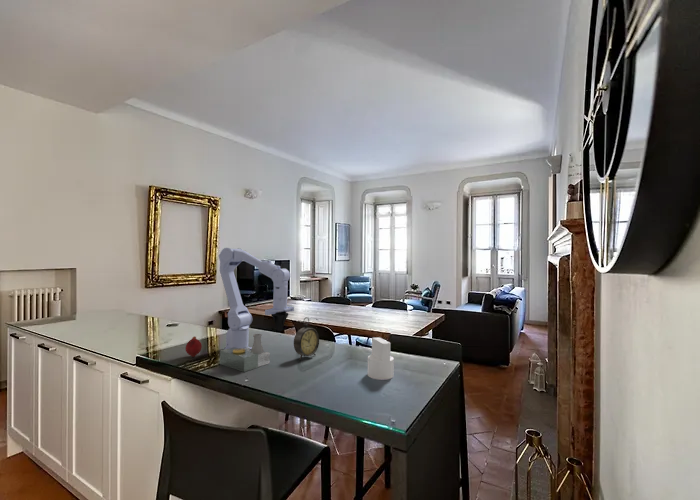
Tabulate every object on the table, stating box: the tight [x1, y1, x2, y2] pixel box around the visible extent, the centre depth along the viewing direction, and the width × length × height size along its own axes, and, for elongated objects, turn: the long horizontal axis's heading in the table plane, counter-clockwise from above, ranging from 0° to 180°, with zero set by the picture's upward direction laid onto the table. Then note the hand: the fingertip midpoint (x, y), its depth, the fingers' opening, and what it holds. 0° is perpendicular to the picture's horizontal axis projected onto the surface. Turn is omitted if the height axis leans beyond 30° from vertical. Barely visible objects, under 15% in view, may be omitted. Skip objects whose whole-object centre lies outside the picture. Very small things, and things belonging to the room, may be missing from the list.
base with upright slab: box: [367, 336, 395, 381], centre depth 118 cm, size 9×9×12 cm
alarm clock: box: [293, 316, 320, 361], centre depth 137 cm, size 11×5×16 cm, turn 143°
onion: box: [185, 336, 203, 358], centre depth 134 cm, size 6×6×8 cm
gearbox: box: [219, 346, 271, 373], centre depth 127 cm, size 14×12×6 cm
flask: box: [250, 333, 265, 354], centre depth 132 cm, size 7×7×10 cm
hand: (279, 330), depth 141 cm, fingers closed
